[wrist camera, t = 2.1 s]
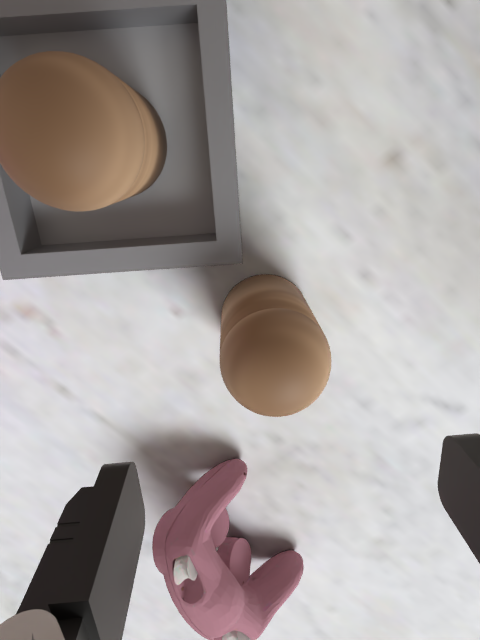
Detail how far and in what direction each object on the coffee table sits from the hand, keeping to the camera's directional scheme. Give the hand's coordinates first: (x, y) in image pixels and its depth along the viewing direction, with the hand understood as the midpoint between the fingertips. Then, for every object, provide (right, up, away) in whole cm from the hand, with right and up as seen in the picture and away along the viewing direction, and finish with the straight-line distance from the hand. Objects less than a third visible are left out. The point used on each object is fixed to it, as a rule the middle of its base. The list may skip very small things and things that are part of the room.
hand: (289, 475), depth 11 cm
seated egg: (-7, +11, +6) cm, 15 cm away
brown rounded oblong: (0, +4, +10) cm, 11 cm away
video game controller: (-2, -9, +16) cm, 18 cm away
